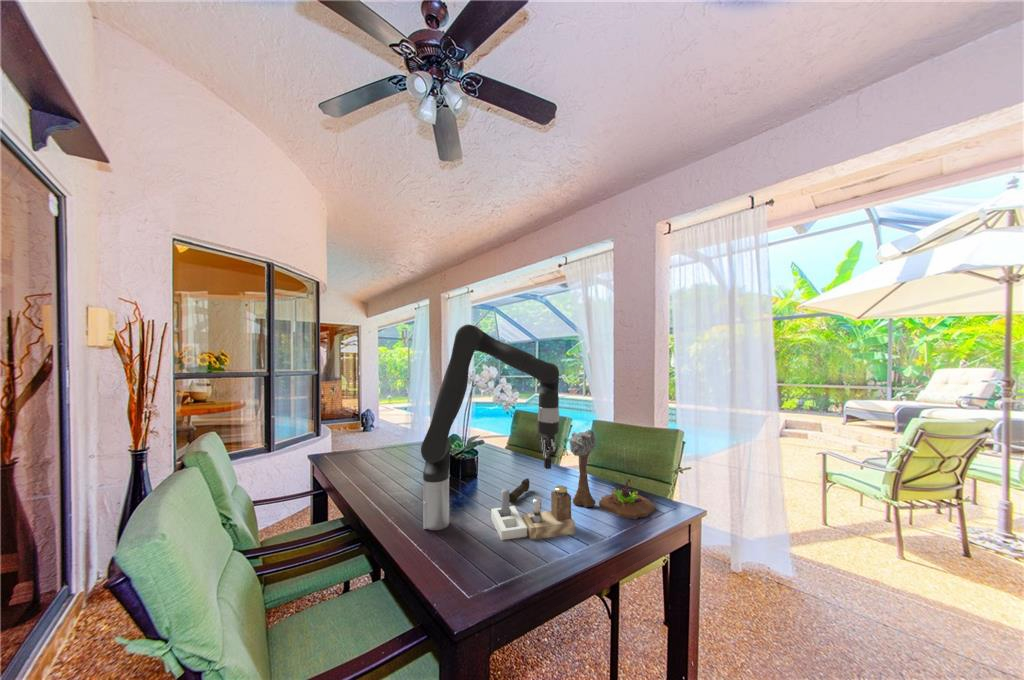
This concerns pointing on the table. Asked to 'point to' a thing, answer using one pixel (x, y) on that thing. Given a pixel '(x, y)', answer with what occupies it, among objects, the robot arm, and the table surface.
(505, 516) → the rack
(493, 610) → the table surface
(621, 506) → the plant
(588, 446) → the tree sculpture
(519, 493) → the hand tool
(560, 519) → the socket block
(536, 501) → the grey rectangular bar
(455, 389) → the robot arm
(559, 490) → the gold topped knob
